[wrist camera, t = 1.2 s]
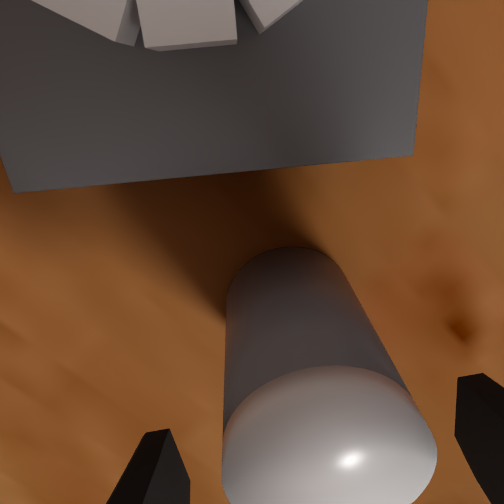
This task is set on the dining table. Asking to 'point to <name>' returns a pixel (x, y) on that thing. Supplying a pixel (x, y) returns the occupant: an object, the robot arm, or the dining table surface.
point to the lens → (314, 393)
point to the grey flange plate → (203, 86)
